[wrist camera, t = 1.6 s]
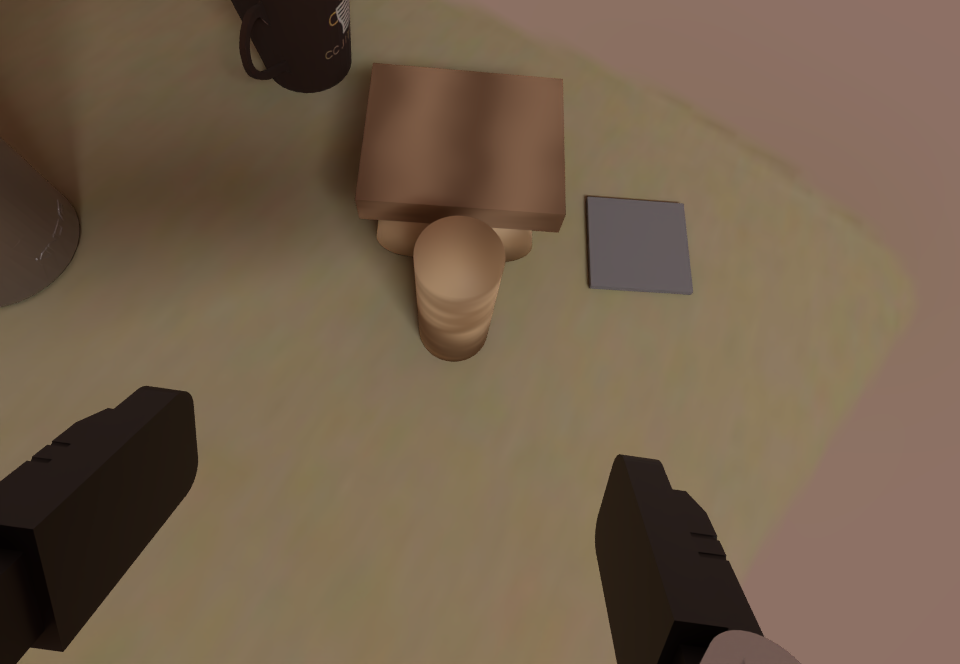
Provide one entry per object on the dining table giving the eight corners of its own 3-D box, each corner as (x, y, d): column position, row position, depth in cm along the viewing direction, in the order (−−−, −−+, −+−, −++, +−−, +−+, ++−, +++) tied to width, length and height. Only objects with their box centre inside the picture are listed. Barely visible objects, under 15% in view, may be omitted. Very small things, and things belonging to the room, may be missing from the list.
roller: (416, 359, 35) (409, 294, 26) (421, 295, 37) (416, 212, 27) (486, 363, 35) (504, 300, 26) (488, 299, 37) (506, 218, 28)
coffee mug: (304, 1, 45) (269, -141, 35) (389, 54, 44) (376, -78, 34) (196, 89, 41) (125, -43, 32) (285, 150, 40) (239, 31, 30)
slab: (368, 253, 37) (354, 199, 31) (382, 132, 41) (373, 63, 35) (545, 265, 38) (565, 214, 32) (544, 145, 42) (562, 79, 36)
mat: (589, 288, 38) (590, 285, 37) (586, 199, 40) (587, 196, 40) (690, 294, 38) (693, 292, 38) (681, 206, 41) (683, 203, 40)
